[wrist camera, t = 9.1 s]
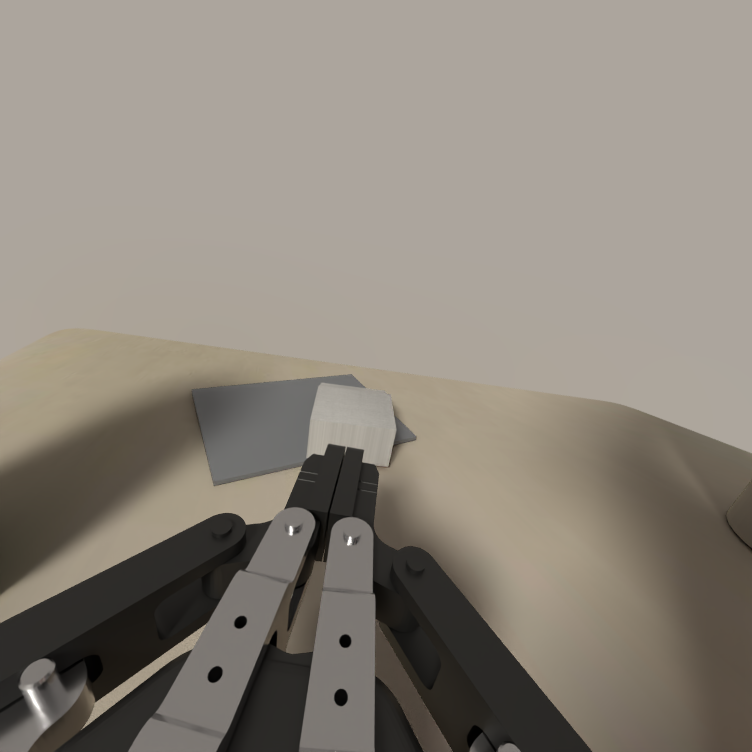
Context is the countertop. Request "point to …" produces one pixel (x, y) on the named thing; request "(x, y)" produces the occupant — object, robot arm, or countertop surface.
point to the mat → (263, 425)
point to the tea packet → (353, 422)
